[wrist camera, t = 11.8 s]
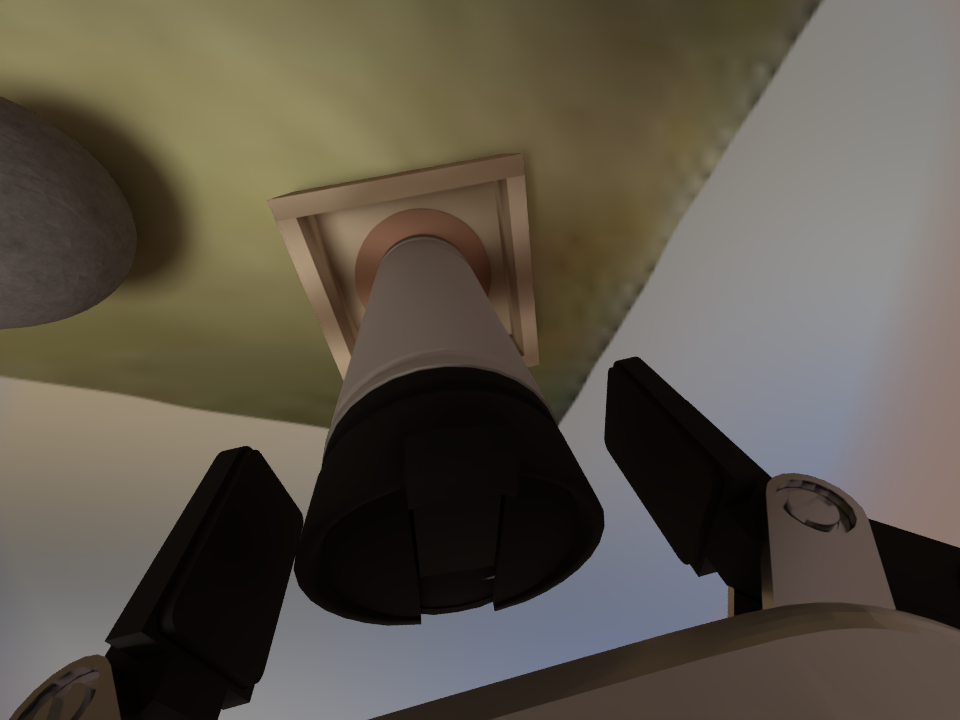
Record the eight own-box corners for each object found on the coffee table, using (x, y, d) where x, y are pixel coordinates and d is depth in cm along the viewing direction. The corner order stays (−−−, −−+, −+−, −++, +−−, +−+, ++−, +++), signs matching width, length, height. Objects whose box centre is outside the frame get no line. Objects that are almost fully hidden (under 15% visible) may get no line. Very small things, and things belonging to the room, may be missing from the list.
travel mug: (472, 227, 23) (665, 436, 6) (471, 323, 26) (591, 645, 9) (370, 227, 22) (219, 483, 5) (382, 327, 25) (319, 699, 8)
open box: (292, 192, 21) (266, 200, 17) (502, 154, 22) (523, 153, 18) (362, 372, 28) (354, 406, 24) (521, 336, 29) (539, 364, 25)
